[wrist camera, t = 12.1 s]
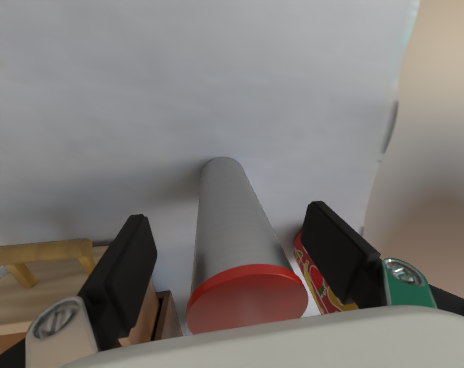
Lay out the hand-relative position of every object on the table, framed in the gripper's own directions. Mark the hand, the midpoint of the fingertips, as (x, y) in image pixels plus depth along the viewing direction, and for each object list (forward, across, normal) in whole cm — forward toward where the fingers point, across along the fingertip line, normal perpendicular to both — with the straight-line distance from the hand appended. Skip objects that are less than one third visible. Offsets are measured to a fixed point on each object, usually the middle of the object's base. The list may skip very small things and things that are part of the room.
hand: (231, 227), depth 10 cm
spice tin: (+8, 0, 0) cm, 8 cm away
